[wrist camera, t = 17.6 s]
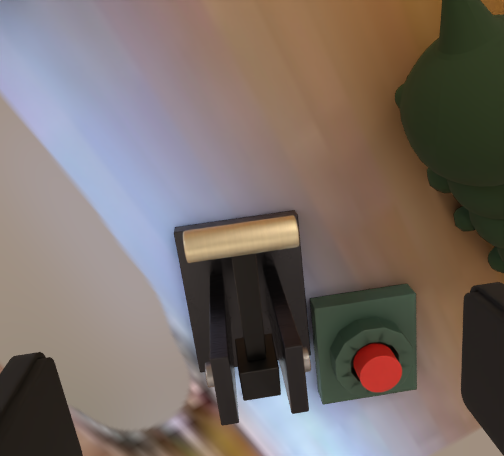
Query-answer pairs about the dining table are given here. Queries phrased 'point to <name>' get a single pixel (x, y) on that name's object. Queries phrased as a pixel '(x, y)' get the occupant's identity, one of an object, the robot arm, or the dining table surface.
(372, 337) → the console
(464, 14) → the green bumpy upright shape
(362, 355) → the button
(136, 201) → the dining table surface
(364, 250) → the dining table surface
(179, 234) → the lever bracket
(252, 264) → the press lever
